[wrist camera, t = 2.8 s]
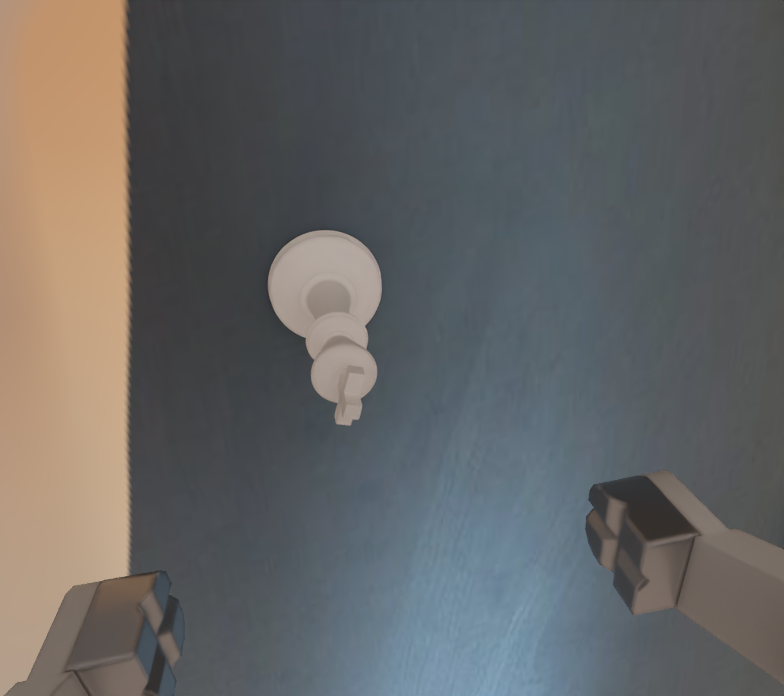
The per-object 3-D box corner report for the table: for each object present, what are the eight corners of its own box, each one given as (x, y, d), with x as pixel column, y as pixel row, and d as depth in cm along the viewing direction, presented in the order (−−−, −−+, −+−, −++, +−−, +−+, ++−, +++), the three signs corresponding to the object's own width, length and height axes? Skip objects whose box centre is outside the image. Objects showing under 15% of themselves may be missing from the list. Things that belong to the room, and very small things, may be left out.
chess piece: (259, 327, 23) (244, 476, 14) (278, 218, 21) (275, 312, 12) (366, 344, 24) (413, 490, 15) (393, 243, 22) (465, 344, 13)
